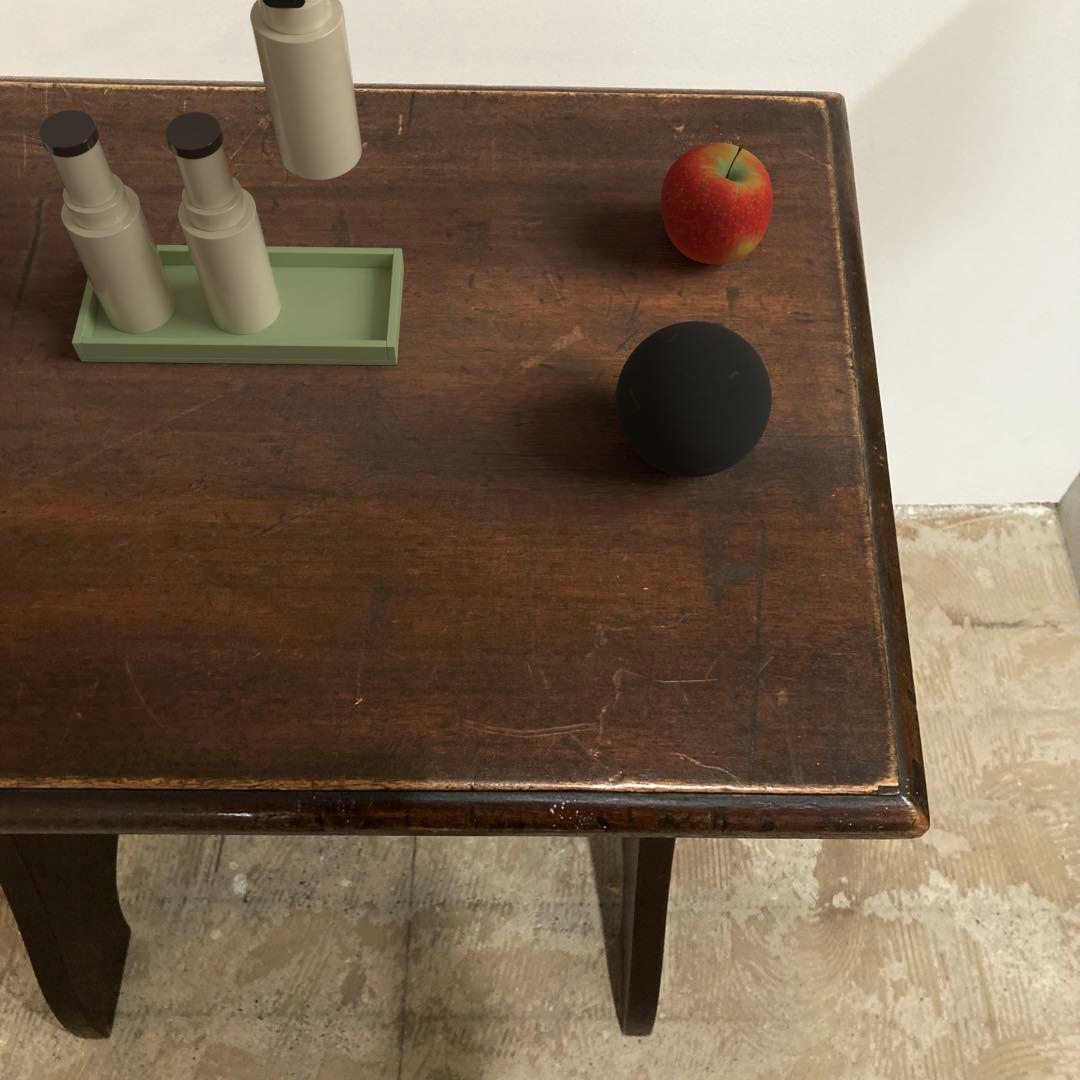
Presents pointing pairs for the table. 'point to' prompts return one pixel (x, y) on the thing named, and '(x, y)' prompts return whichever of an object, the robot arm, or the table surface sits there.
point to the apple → (716, 203)
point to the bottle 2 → (222, 229)
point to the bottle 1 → (107, 227)
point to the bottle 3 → (309, 86)
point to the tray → (297, 333)
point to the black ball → (693, 399)
